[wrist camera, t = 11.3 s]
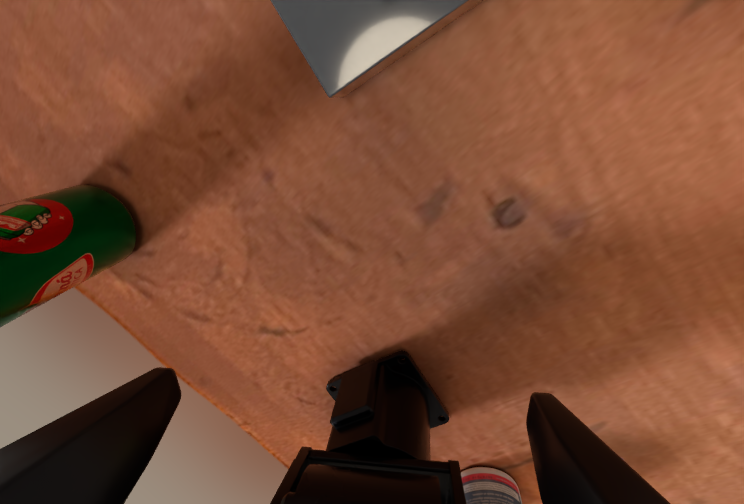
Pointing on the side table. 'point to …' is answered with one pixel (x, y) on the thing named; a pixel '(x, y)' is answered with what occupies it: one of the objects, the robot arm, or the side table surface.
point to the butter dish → (362, 34)
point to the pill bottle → (489, 487)
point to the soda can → (58, 244)
